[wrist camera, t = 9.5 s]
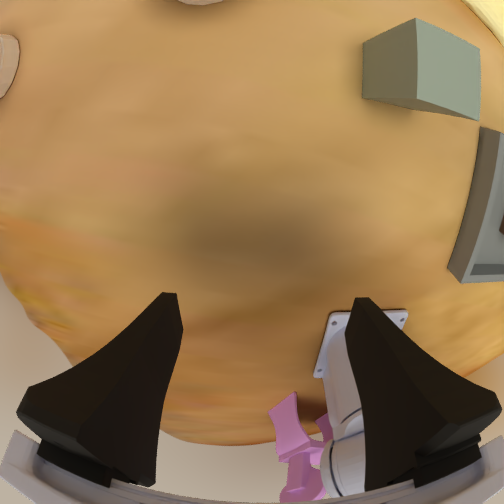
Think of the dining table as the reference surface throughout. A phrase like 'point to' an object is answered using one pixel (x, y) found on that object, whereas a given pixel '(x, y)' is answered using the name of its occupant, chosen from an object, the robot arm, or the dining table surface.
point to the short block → (502, 226)
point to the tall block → (423, 70)
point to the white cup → (8, 61)
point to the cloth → (490, 15)
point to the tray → (483, 217)
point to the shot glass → (200, 2)
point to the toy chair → (299, 451)
